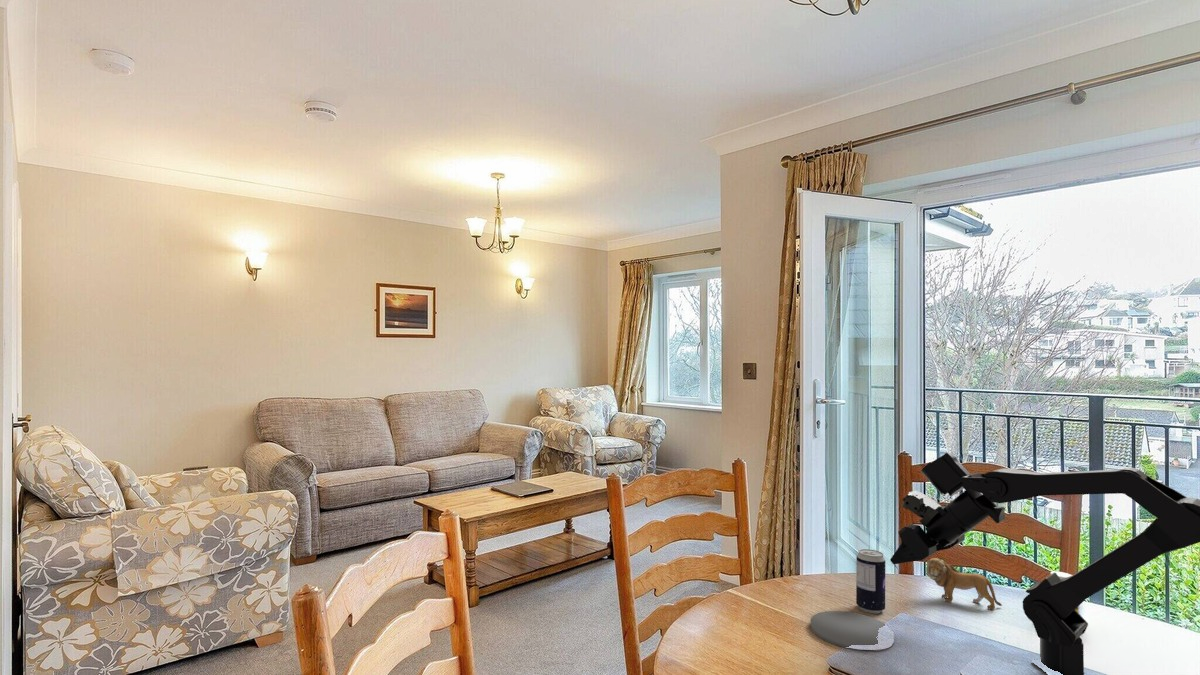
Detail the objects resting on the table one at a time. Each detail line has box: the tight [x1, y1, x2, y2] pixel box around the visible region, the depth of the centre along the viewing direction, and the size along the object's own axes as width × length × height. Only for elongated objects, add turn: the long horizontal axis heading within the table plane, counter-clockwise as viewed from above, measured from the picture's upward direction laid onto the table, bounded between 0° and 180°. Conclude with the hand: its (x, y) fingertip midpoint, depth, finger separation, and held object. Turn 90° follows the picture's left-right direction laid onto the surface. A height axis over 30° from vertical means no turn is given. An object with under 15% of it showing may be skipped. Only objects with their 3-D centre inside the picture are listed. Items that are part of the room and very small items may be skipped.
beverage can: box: [855, 548, 886, 614], centre depth 130 cm, size 6×6×12 cm
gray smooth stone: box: [810, 610, 886, 649], centre depth 118 cm, size 15×15×1 cm
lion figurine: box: [925, 557, 1003, 611], centre depth 135 cm, size 15×5×9 cm, turn 70°
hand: (902, 557), depth 125 cm, fingers open, 9 cm apart
